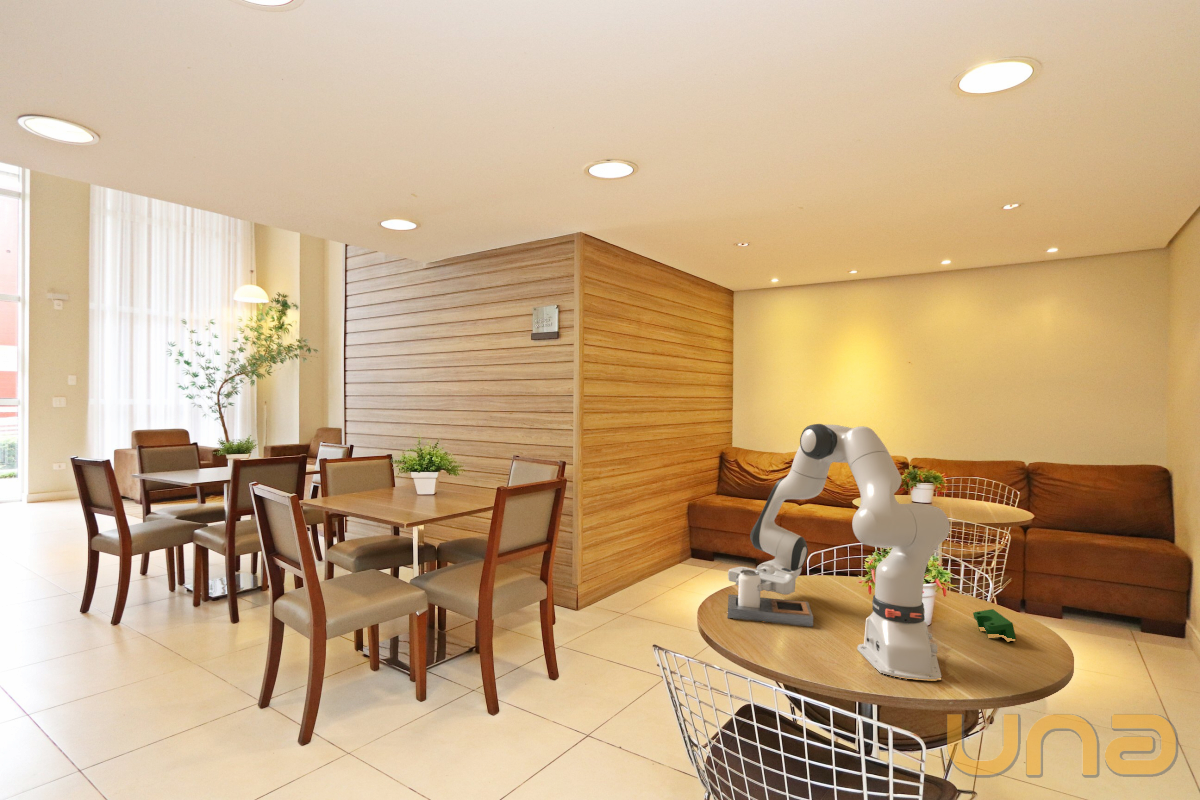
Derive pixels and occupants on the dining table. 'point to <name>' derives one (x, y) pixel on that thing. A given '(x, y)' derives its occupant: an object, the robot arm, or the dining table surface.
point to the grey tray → (772, 611)
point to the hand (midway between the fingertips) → (748, 585)
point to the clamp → (994, 623)
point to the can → (749, 589)
